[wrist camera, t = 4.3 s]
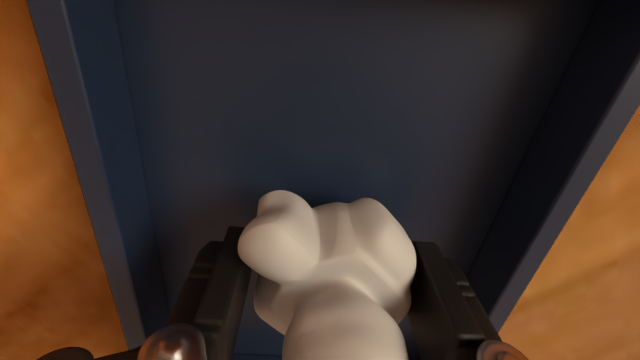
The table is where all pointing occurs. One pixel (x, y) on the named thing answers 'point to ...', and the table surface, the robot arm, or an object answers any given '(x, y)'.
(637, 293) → the table surface
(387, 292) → the white toy figure
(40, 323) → the table surface
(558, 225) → the tray
